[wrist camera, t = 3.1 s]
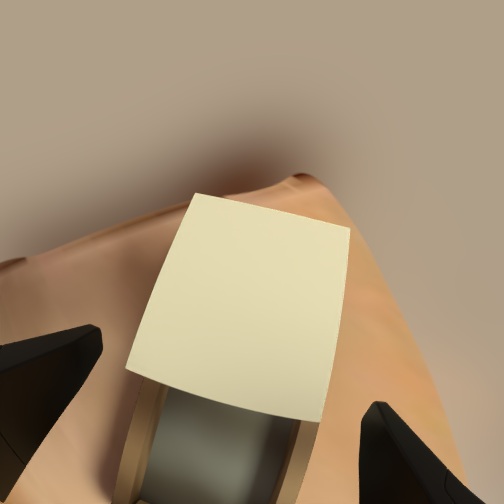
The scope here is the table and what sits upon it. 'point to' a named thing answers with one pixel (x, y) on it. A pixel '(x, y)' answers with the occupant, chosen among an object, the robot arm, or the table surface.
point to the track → (209, 452)
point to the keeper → (247, 308)
